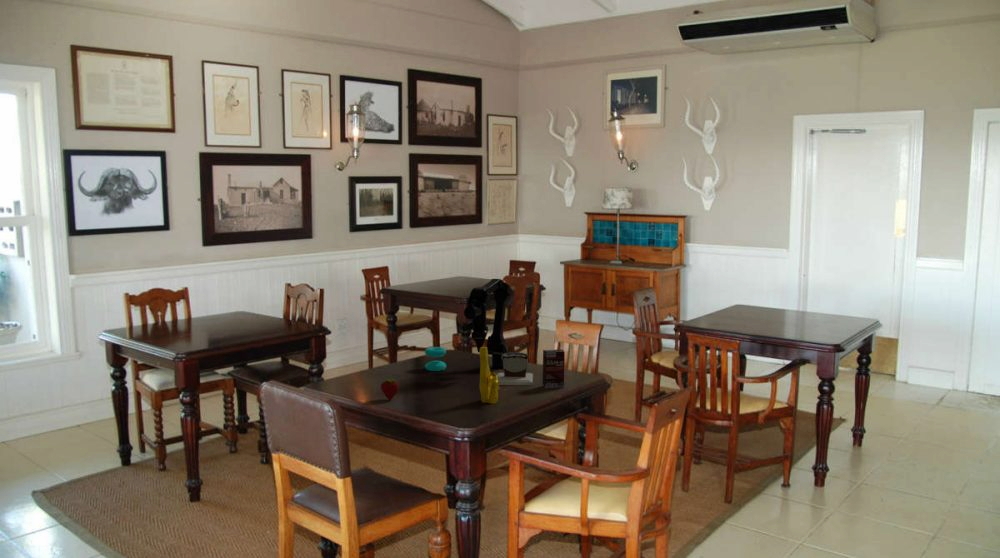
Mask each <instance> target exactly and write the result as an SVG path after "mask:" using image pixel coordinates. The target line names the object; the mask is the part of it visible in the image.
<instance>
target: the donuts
mask: <svg viewBox="0 0 1000 558" xmlns="http://www.w3.org/2000/svg"><path fill="white" fill-rule="evenodd" d="M446 353H447V349H446V348H444V347H442V346H431V347H427V348H426V349H425V350H424V354H425V355H426V356H427V357H431V358H440V357H444V356H445V355H446ZM424 368H425V370H426V371H429V372H442V371H444V370H446V369H447V363H445V361H441V360H430V361H428V362H427V363H425V365H424ZM441 370H442V371H441Z"/></svg>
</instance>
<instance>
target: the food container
mask: <svg viewBox="0 0 1000 558" xmlns="http://www.w3.org/2000/svg"><path fill="white" fill-rule="evenodd" d="M501 359H503V368H504V369H503V373H504V377H526V373H527V368H528V361H529V360H530V357H529V354H528V353H525V352H519V351H518V352H514V351H512V352H508V353H505V354H503V355H502V357H501Z"/></svg>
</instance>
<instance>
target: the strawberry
mask: <svg viewBox="0 0 1000 558" xmlns="http://www.w3.org/2000/svg"><path fill="white" fill-rule="evenodd" d="M380 388H381V391H382V393H383V394H384V396H385V397H386V398H387V400H389V401H392V400H393V398H394V397H395V396H396V395H397V393H398V391H399V388H400V384H399V383H398V382H397V380H396V379H395V378H390V379H387V378H386V379H384V381H383V382H382V383H381V384H380Z"/></svg>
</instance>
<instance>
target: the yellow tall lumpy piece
mask: <svg viewBox="0 0 1000 558" xmlns="http://www.w3.org/2000/svg"><path fill="white" fill-rule="evenodd" d="M479 362H480V367H479V369H480V370H479V391H480V398H481V403H484V404H485V403H488V404H493V405H494V403H495V404H496V403H498V400H499V392H498V391H499V390H500V389H501V387H500V385H498V380H497V373H494V372H493V371H491V367H490V364H489V355H488V350H487V347H486V346H483V347H481V348H480V352H479Z"/></svg>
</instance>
